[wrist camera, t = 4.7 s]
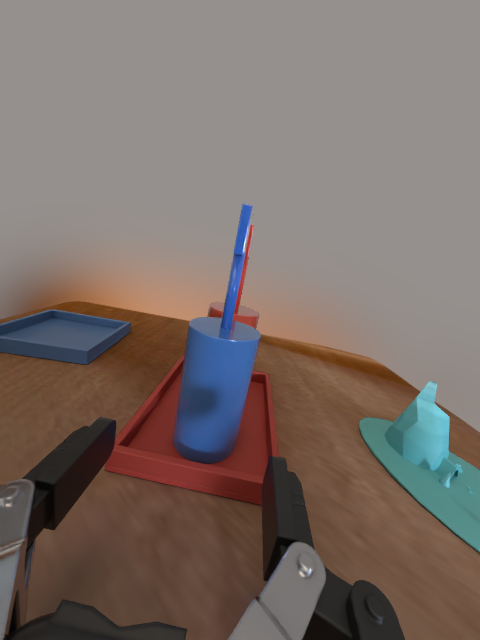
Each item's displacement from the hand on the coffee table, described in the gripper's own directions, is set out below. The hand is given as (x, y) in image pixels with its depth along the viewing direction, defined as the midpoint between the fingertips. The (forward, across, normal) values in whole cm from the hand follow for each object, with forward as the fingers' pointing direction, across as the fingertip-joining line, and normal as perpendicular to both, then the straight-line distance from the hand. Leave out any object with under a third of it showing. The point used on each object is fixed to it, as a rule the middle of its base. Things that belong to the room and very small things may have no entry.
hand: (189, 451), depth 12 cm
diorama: (+10, -25, +8) cm, 28 cm away
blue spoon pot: (+9, 0, +7) cm, 11 cm away
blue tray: (+24, +26, +7) cm, 36 cm away
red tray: (+13, 0, +7) cm, 15 cm away
